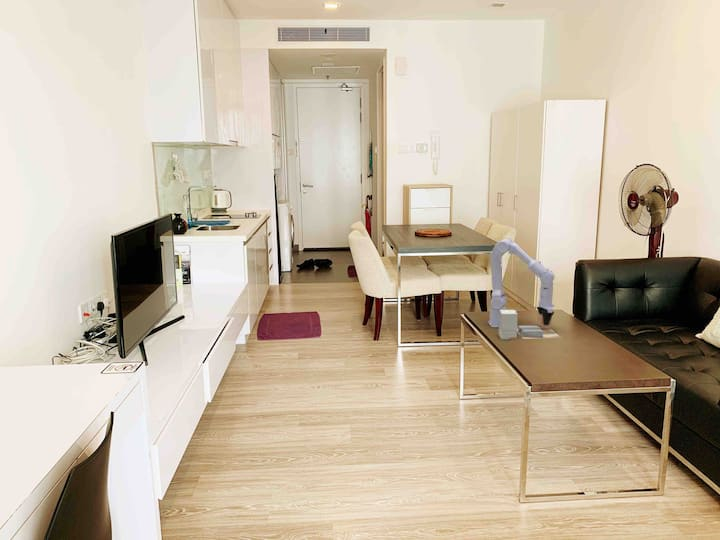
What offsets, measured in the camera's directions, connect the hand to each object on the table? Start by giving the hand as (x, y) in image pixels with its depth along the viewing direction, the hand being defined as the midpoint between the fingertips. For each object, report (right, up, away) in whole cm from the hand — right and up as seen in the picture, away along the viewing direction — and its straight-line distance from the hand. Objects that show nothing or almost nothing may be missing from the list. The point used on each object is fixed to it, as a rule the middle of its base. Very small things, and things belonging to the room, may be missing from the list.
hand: (544, 323), depth 269 cm
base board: (-5, -5, -4) cm, 8 cm away
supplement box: (-20, -6, -7) cm, 22 cm away
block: (0, -1, 0) cm, 1 cm away
